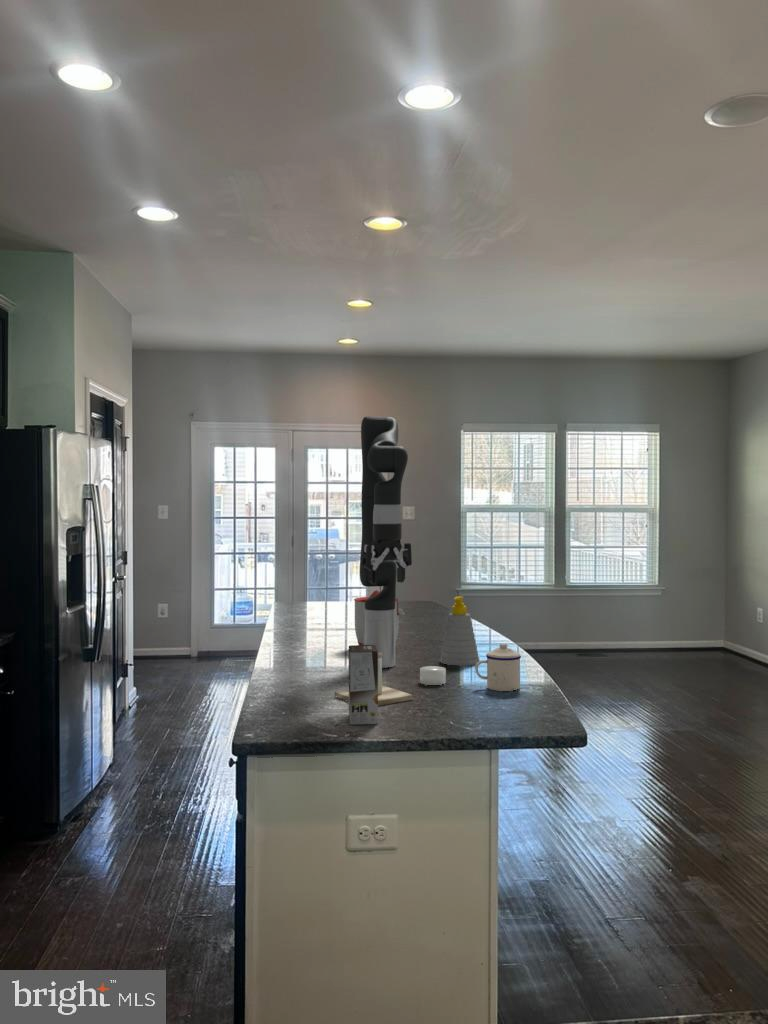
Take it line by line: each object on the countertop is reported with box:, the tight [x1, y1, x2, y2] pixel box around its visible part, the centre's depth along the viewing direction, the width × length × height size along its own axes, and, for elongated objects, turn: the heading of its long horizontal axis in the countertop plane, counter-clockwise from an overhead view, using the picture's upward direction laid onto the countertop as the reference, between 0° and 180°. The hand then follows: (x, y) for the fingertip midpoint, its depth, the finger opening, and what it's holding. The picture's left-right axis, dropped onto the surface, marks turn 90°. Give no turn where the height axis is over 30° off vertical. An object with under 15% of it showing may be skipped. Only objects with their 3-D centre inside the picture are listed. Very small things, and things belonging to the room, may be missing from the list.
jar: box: [378, 652, 383, 695], centre depth 193 cm, size 5×5×10 cm
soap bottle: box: [439, 596, 481, 667], centre depth 239 cm, size 12×12×20 cm
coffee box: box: [348, 644, 379, 726], centre depth 173 cm, size 9×6×16 cm
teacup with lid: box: [474, 643, 522, 692], centre depth 204 cm, size 12×9×12 cm
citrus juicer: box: [353, 589, 405, 645], centre depth 265 cm, size 16×17×20 cm
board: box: [334, 684, 414, 707], centre depth 193 cm, size 14×14×1 cm
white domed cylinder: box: [419, 665, 447, 686], centre depth 210 cm, size 7×7×4 cm
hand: (387, 583), depth 204 cm, fingers open, 8 cm apart
